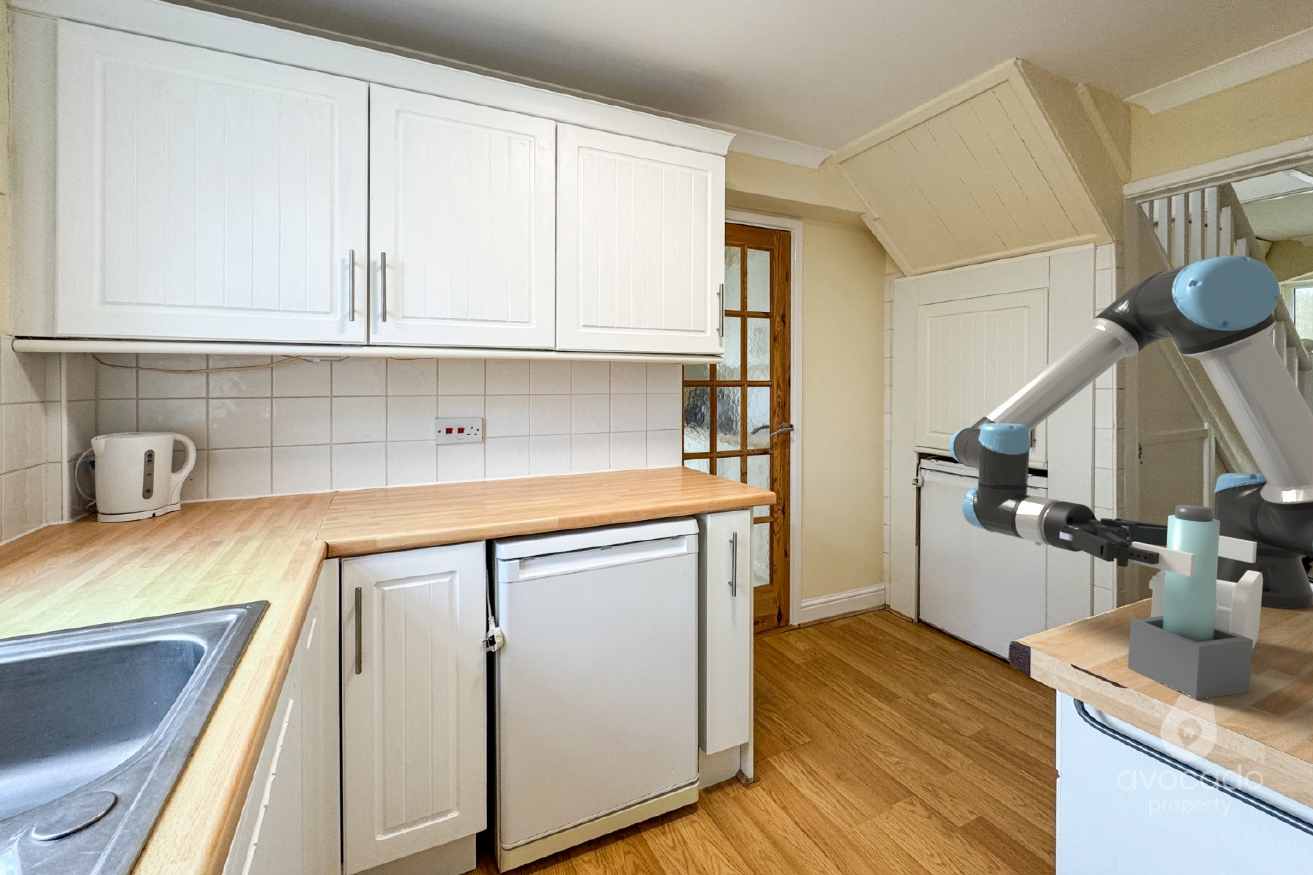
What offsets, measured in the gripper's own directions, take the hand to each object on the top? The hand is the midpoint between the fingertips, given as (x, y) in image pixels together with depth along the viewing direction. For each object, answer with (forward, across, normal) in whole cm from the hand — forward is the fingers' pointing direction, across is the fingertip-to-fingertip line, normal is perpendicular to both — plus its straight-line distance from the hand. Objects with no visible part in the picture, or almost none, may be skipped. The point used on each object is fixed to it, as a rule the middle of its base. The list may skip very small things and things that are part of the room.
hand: (1225, 558), depth 73 cm
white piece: (-8, -14, -18) cm, 24 cm away
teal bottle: (-3, 0, -18) cm, 18 cm away
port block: (-3, 0, -18) cm, 18 cm away
